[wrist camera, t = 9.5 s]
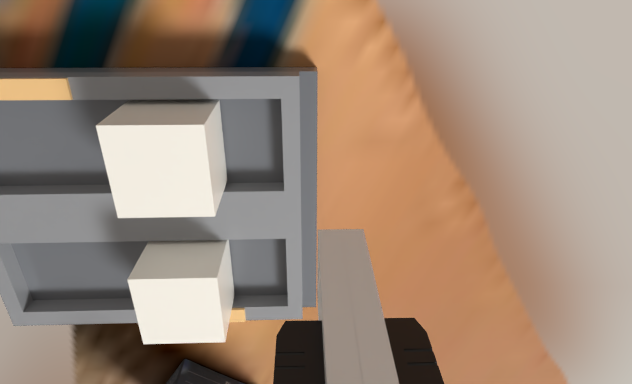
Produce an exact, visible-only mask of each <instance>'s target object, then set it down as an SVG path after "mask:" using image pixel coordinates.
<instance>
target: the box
mask: <svg viewBox="0 0 632 384" xmlns="http://www.w3.org/2000/svg"><path fill="white" fill-rule="evenodd" d="M166 384H244V383H241V382H239V381H237V380H234V379H232V378H229V377H227V376H224V375H222V374H220V373H217V372H215V371H213V370H210V369H208V368H206V367H203V366H200V365H199V364H196V363H194V362H192V361H190V360H187V359H184V360H183V361H182V363H181V364H180V365H179V367H178V368H177V369H176V371H175V372H174V373H173V375H172V376H171V377H170V379H169V380H168V381H167V382H166Z"/></svg>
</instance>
